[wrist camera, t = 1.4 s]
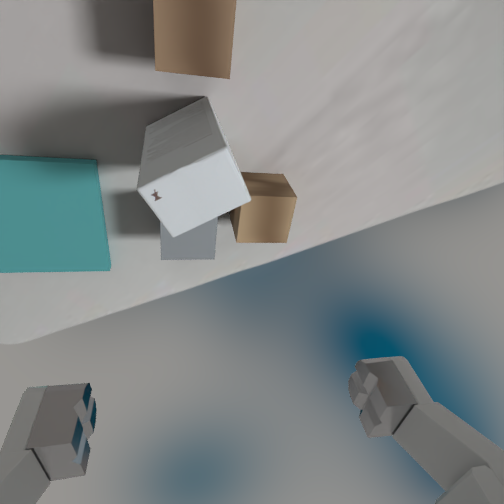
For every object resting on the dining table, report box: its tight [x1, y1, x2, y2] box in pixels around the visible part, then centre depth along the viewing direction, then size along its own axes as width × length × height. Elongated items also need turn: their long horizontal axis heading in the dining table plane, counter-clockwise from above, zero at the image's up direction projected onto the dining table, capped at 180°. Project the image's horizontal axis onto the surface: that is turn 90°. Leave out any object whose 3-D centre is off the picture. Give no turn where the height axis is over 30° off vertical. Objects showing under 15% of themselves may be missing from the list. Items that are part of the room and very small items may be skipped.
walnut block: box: [153, 0, 236, 79], centre depth 24 cm, size 5×5×5 cm
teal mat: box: [0, 155, 111, 273], centre depth 32 cm, size 12×12×1 cm
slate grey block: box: [160, 217, 218, 260], centre depth 33 cm, size 5×5×5 cm
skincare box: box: [137, 97, 251, 237], centre depth 26 cm, size 6×4×12 cm
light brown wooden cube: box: [230, 172, 297, 243], centre depth 33 cm, size 5×5×5 cm
